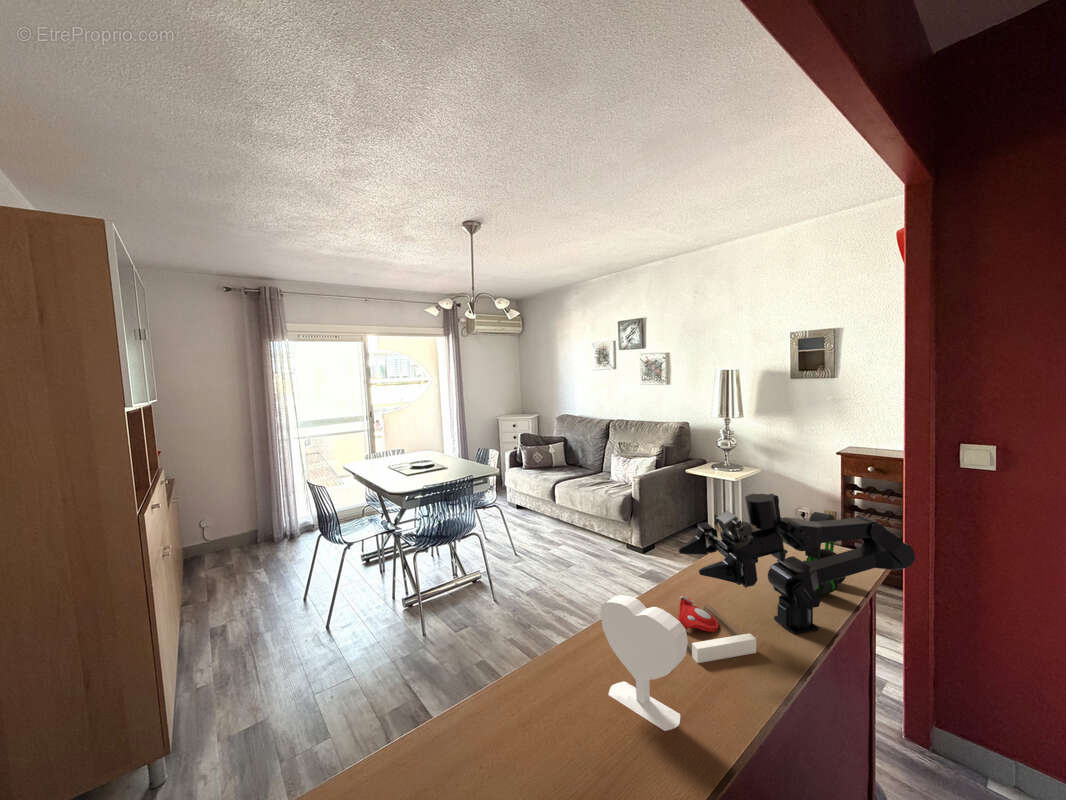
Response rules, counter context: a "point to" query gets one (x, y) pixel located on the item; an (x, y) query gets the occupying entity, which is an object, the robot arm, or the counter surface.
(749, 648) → the guide channel
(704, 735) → the counter surface
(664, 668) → the heart sculpture
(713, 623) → the tracker holder
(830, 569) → the robot arm
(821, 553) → the headphones
